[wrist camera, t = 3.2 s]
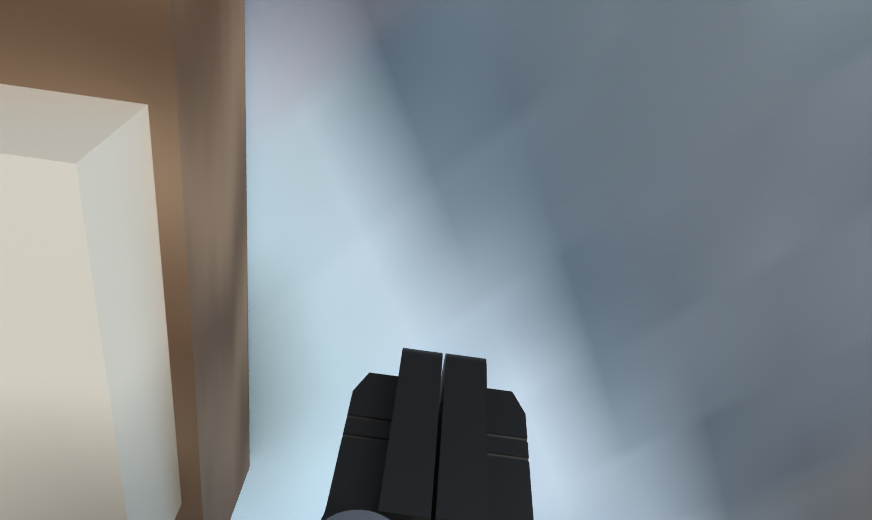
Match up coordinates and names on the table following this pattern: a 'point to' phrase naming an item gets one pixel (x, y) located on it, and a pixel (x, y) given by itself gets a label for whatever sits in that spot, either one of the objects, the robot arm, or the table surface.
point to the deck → (172, 193)
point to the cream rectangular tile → (82, 314)
